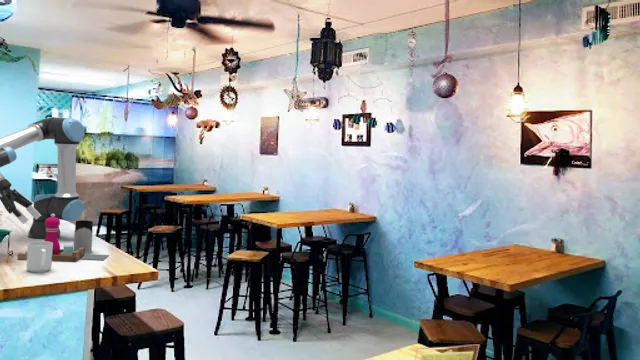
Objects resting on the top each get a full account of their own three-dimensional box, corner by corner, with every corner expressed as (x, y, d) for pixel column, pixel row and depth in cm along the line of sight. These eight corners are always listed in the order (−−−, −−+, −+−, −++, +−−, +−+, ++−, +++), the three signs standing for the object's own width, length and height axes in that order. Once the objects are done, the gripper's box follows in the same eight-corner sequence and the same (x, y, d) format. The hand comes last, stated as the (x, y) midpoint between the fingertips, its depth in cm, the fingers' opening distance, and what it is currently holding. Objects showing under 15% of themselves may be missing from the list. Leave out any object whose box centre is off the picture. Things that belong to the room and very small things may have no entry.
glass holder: (72, 254, 226) (74, 222, 225) (72, 248, 239) (74, 218, 238) (92, 254, 230) (94, 223, 229) (91, 248, 243) (93, 218, 242)
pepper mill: (51, 260, 213) (54, 215, 212) (37, 258, 214) (39, 213, 213) (63, 257, 220) (65, 213, 219) (49, 255, 221) (52, 212, 220)
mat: (86, 254, 227) (86, 254, 227) (108, 255, 229) (108, 255, 229) (79, 259, 217) (80, 258, 217) (103, 260, 219) (103, 259, 219)
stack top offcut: (63, 251, 219) (63, 244, 219) (73, 251, 221) (73, 244, 221) (63, 253, 215) (63, 246, 215) (73, 253, 217) (73, 246, 217)
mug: (24, 268, 196) (25, 241, 195) (48, 266, 202) (50, 240, 201) (29, 275, 187) (31, 247, 186) (55, 273, 192) (56, 246, 192)
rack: (29, 253, 221) (30, 244, 221) (84, 255, 226) (84, 247, 226) (17, 259, 208) (17, 250, 208) (75, 262, 213) (76, 253, 212)
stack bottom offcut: (64, 257, 221) (65, 250, 221) (76, 257, 221) (76, 251, 221) (60, 259, 216) (60, 252, 216) (71, 260, 216) (72, 253, 216)
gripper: (3, 186, 222) (36, 221, 225) (-25, 191, 198) (13, 229, 201) (17, 176, 223) (49, 210, 226) (-10, 179, 198) (27, 218, 202)
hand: (32, 219), depth 214 cm, fingers open, 13 cm apart
